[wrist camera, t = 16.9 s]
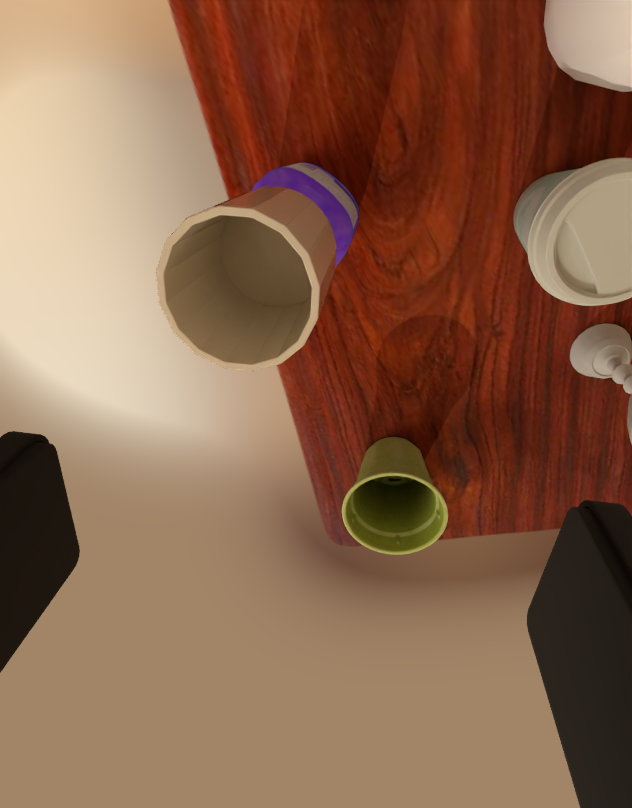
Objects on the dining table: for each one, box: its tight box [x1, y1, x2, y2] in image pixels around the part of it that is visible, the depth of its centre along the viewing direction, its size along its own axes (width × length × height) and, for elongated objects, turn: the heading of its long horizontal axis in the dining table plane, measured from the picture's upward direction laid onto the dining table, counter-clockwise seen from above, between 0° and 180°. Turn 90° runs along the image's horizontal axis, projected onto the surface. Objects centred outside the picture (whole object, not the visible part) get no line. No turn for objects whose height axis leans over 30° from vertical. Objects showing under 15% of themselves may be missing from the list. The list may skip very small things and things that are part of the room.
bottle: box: [252, 162, 359, 266], centre depth 33 cm, size 7×6×17 cm
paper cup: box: [156, 186, 337, 371], centre depth 22 cm, size 6×6×8 cm
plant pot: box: [342, 437, 448, 555], centre depth 48 cm, size 9×9×9 cm
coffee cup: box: [514, 158, 632, 306], centre depth 34 cm, size 8×8×12 cm
